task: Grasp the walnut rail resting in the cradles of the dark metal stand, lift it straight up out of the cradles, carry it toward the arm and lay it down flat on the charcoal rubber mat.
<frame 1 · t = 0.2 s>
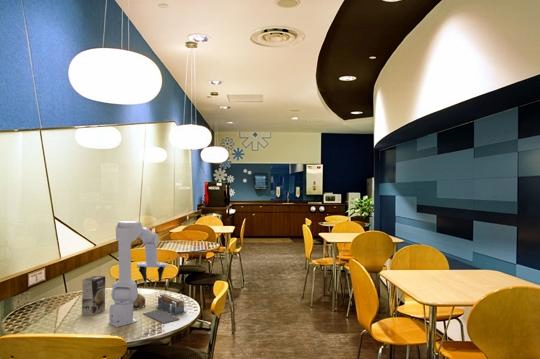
hand: (152, 280, 207), 11 cm above the table, tool pointing down, fingers open, 7 cm apart
stand: (170, 309, 193), on the table
coffee box: (93, 312, 189), on the table
mat: (161, 316, 183), on the table
bread roll: (134, 306, 199), on the table
rail: (170, 302, 193), point 3 cm above the table, touching stand
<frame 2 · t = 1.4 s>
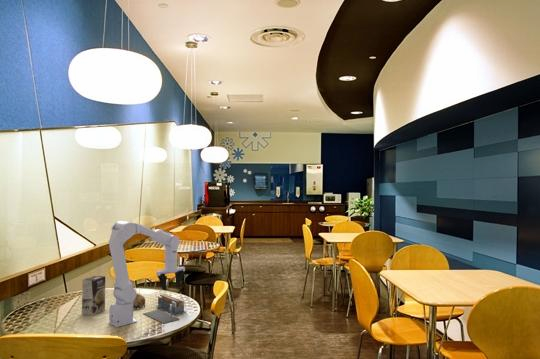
hand: (170, 288, 194), 10 cm above the table, tool pointing down, fingers open, 7 cm apart
nothing on the table moved.
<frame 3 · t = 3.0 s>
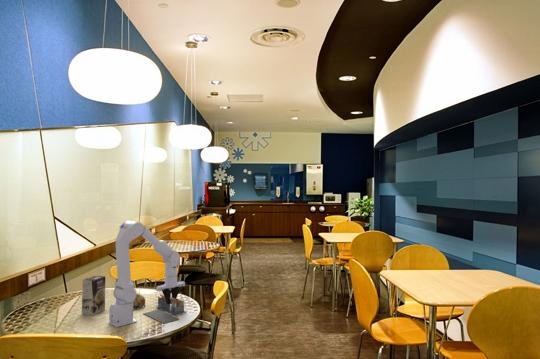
hand: (170, 303, 193), 3 cm above the table, tool pointing down, fingers closed on rail, 2 cm apart
rail: (170, 302, 193), point 3 cm above the table, touching gripper, stand
everything else where it was.
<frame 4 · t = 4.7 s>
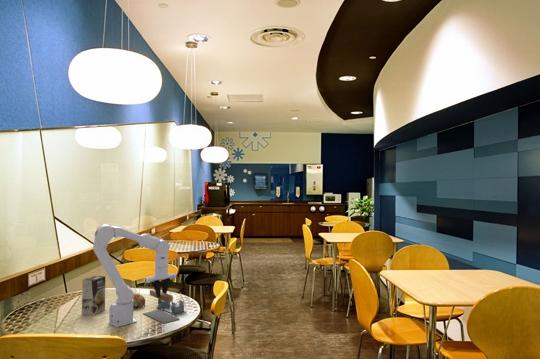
hand: (161, 296, 183), 9 cm above the table, tool pointing down, fingers closed on rail, 2 cm apart
rail: (161, 298, 183), point 9 cm above the table, touching gripper
everything else where it was.
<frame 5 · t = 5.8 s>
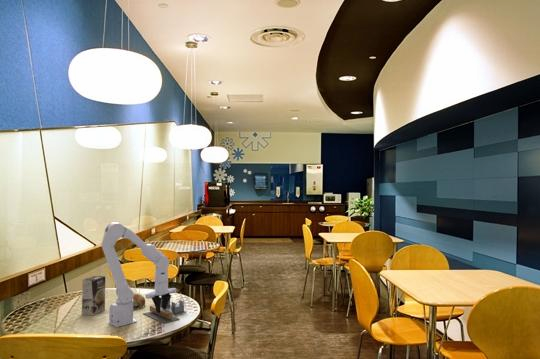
hand: (161, 311, 183), 2 cm above the table, tool pointing down, fingers closed on rail, 2 cm apart
rail: (160, 314, 183), point 1 cm above the table, touching gripper
everything else where it was.
when the fingers open (2 cm above the table, at t = 6.3 s): rail stays where it is, resting on mat.
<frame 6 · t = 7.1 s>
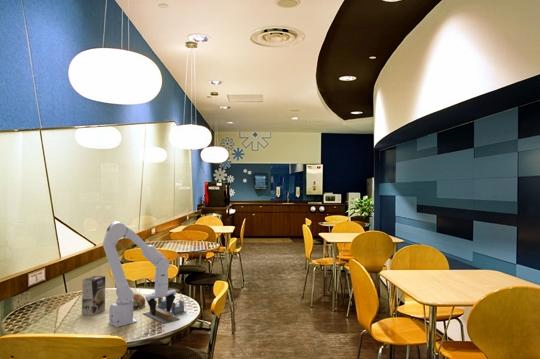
hand: (161, 313, 183), 2 cm above the table, tool pointing down, fingers open, 7 cm apart
rail: (160, 315, 183), resting on mat
everything else where it was.
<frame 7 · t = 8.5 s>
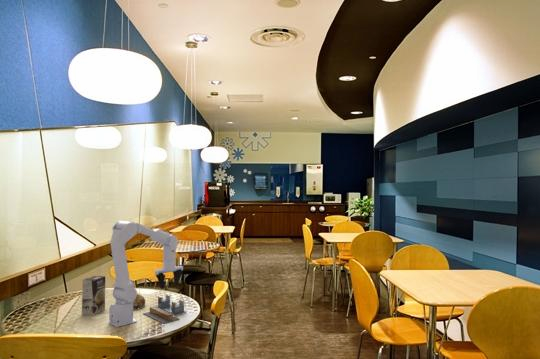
hand: (169, 287, 195), 10 cm above the table, tool pointing down, fingers open, 7 cm apart
nothing on the table moved.
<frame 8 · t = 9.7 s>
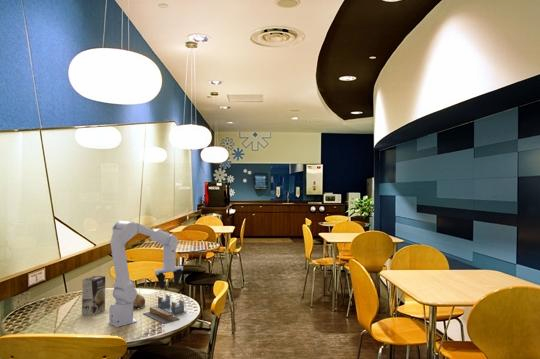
hand: (169, 287, 195), 10 cm above the table, tool pointing down, fingers open, 7 cm apart
nothing on the table moved.
at the end: rail inside the target area on the mat (0.1 cm from its centre), point 0.4 cm above the mat's base; rail resting on mat; the gripper is holding nothing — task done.
